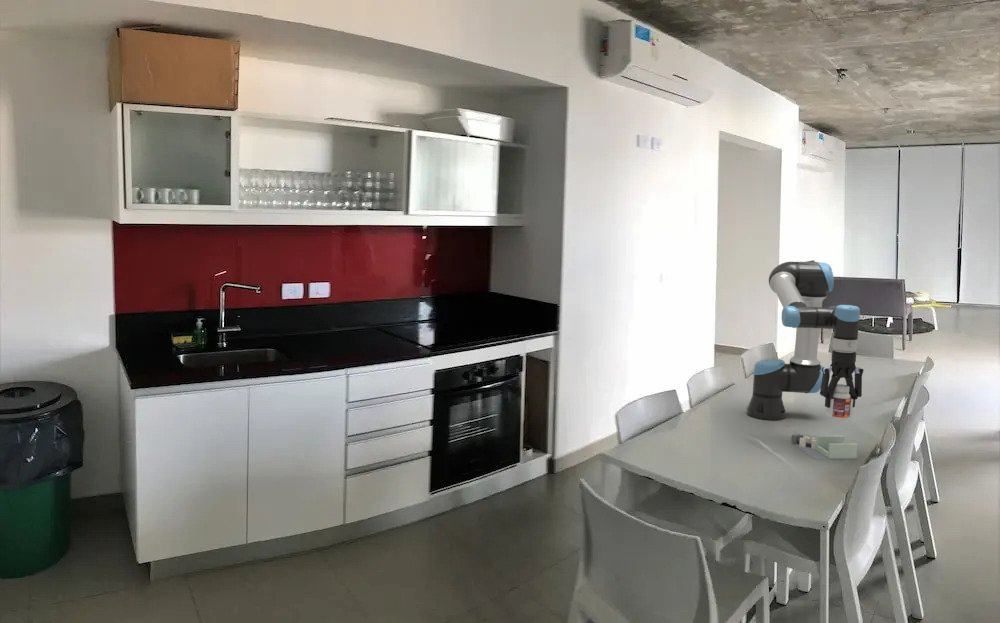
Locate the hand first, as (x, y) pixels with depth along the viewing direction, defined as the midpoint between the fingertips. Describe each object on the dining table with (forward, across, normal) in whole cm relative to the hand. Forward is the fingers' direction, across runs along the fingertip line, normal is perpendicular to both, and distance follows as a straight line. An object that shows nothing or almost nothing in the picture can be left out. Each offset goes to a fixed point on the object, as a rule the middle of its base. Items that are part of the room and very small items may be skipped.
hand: (838, 416), depth 252 cm
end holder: (+13, 0, 0) cm, 13 cm away
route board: (+15, -2, +4) cm, 15 cm away
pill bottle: (+1, 0, 0) cm, 1 cm away
